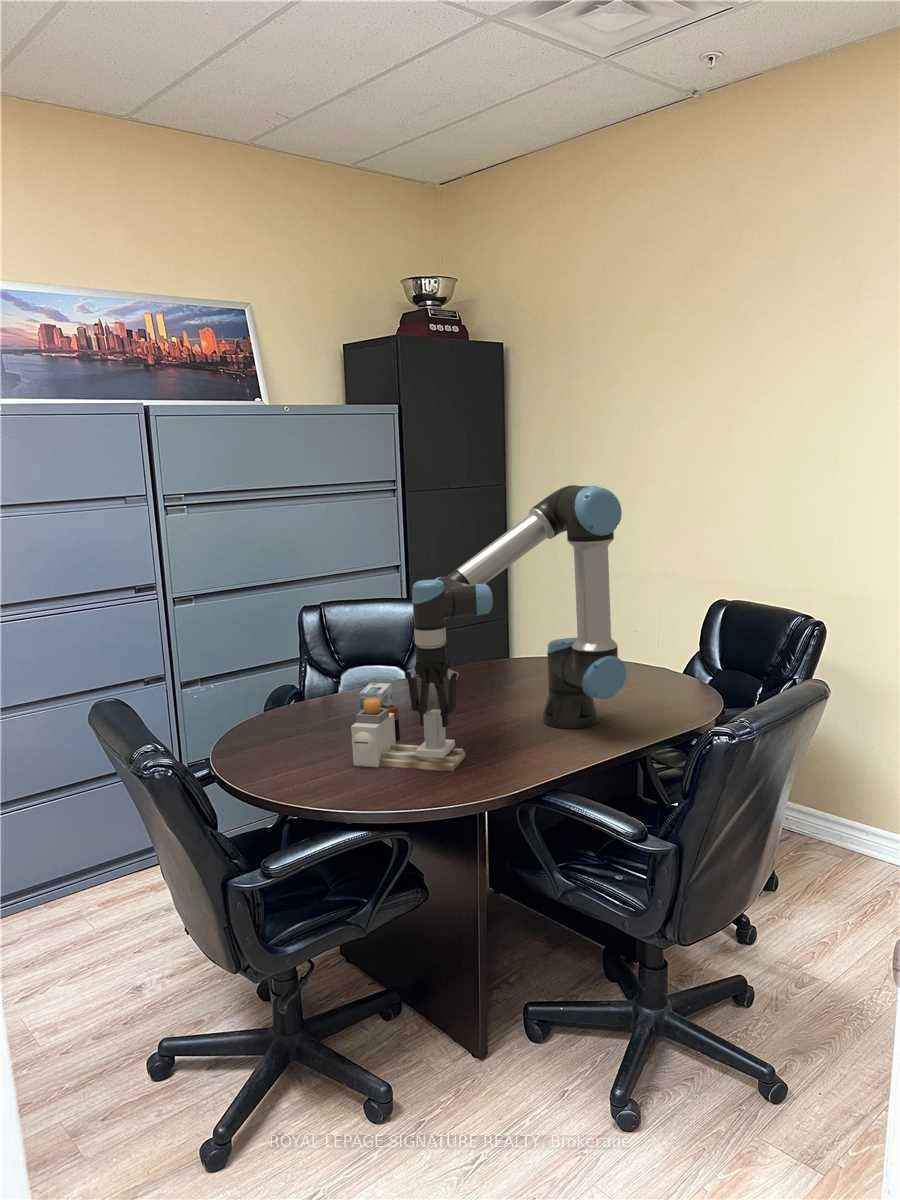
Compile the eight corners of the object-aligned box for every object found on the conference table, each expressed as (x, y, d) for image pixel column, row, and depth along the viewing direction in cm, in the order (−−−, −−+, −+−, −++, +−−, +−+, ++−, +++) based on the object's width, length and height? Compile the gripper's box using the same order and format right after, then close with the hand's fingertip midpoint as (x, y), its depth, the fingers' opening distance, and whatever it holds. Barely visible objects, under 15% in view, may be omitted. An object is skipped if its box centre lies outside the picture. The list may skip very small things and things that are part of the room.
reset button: (383, 710, 228) (382, 698, 227) (376, 714, 224) (376, 702, 224) (368, 709, 229) (367, 697, 229) (361, 713, 225) (361, 702, 225)
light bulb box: (384, 731, 250) (382, 692, 248) (360, 730, 252) (358, 692, 250) (394, 719, 261) (392, 682, 259) (371, 718, 262) (369, 682, 260)
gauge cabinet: (396, 751, 233) (393, 705, 231) (377, 768, 221) (374, 720, 219) (372, 749, 235) (369, 704, 233) (352, 766, 223) (349, 719, 221)
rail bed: (465, 757, 226) (464, 746, 226) (452, 771, 217) (452, 760, 217) (395, 752, 232) (395, 742, 232) (380, 766, 223) (380, 755, 222)
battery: (387, 743, 240) (385, 706, 238) (372, 737, 245) (370, 701, 243) (400, 739, 242) (398, 703, 241) (386, 733, 248) (384, 698, 246)
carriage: (455, 745, 226) (453, 708, 225) (443, 757, 218) (441, 719, 216) (428, 743, 228) (426, 707, 227) (416, 756, 220) (414, 718, 218)
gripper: (467, 642, 220) (471, 736, 224) (404, 640, 225) (409, 732, 229) (458, 649, 213) (462, 746, 217) (393, 647, 218) (398, 742, 222)
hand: (435, 738), depth 223 cm, fingers closed on carriage, 3 cm apart
